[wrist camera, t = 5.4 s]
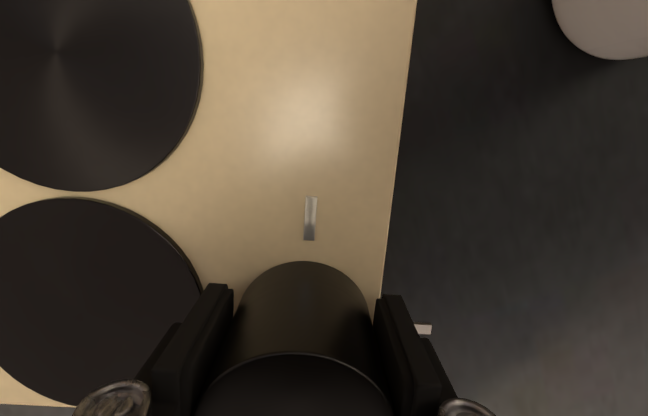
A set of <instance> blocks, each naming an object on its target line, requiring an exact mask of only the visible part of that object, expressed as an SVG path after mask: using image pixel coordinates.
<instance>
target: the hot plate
mask: <svg viewBox="0 0 648 416" xmlns="http://www.w3.org/2000/svg"><path fill="white" fill-rule="evenodd" d="M190 2H191V4H192V7H193V10H194V13H195V16H196V19H197V23H198V26H199V31H200V36H201V41H202V48H203V61H204V71H203V86H202V91H201V97H200V102H199V105H198V109H197V112H196V115H195V118H194V120H193V122H192V124H191V126H190V128H189V131H188V133H187V134H186V136H185V137H184V139H183V140H182V142H181V143H180V145H179V146H178V148H177V149H176V150H175V151H174V152H173V153H172V154H171V156H170V157H169V158H168V159H167V160H166V161H164V162H163V163H162V164H161V165H160V166H158V167H157V168H156V169H155V170H153V171H151V172H150V173H148V174H147V175H145V176H143V177H142V178H139V179H137V180H135V181H132V182H130V183H128V184H125V185H122V186H118V187H114V188H111V189H107V190H100V191H92V192H72V191H64V190H56V189H52V188H48V187H44V186H40V185H37V184H34V183H31V182H29V181H26V180H23V179H21V178H19V177H17V176H15V175H13V174H11V173H9V172H7V171H5V170H3V169H1V168H0V217H1V216H3V215H4V214H6V213H8V212H9V211H11V210H13V209H16V208H18V207H20V206H23V205H25V204H28V203H32V202H35V201H39V200H43V199H47V198H54V197H62V196H63V197H86V198H94V199H99V200H103V201H107V202H111V203H114V204H117V205H119V206H122V207H125V208H127V209H130V210H132V211H134V212H136V213H137V214H139V215H141V216H143V217H145V218H146V219H148V220H149V221H151V222H152V223H154V224H155V225H157V226H158V227H159V228H161V229H162V230H163V231H164V232H165V233H166V234H168V235H169V236H170V237H171V238H172V239H173V240H174V241H175V242H176V243H177V244H178V246H179V247H180V248H181V249H182V250H183V252H184V253H185V254H186V256H187V257H188V258H189V260H190V261H191V263H192V265H193V267H194V269H195V270H196V272H197V274H198V276H199V279H200V282H201V284H202V287H203V290H204V289H205V288H206V286H207V285H208V284H209V283H220V284H227V285H228V289H233V290H234V312H233V317H234V315H235V312H236V310H237V308H238V305H239V303H240V301H241V298H242V296H243V294H244V292H245V291H246V289H247V288H248V286H249V285H250V284H251V283H252V282H253V281H254V280H255V279H256V278H257V277H258V276H259V275H261V274H262V273H263V272H265V271H267V270H269V269H270V268H272V267H275V266H277V265H280V264H284V263H288V262H294V261H312V262H318V263H322V264H326V265H328V266H331V267H333V268H335V269H337V270H339V271H341V272H342V273H344V274H345V275H347V276H348V277H349V278H350V279H351V280H352V281H353V282H354V283H355V284H356V285H357V286H358V288H359V289H360V290H361V292H362V294H363V296H364V298H365V300H366V303H367V306H368V310H369V314H370V318H371V322H372V326H373V319H374V311H375V303H376V299H377V298H380V295H381V287H382V279H383V271H384V263H385V255H386V247H387V239H388V231H389V223H390V215H391V207H392V199H393V191H394V183H395V175H396V167H397V159H398V151H399V143H400V135H401V127H402V119H403V111H404V103H405V95H406V87H407V79H408V71H409V63H410V55H411V47H412V39H413V31H414V23H415V15H416V7H417V0H190ZM413 323H414V325H415V328H416V330H417V332H418V334H431V328H432V324H431V323H424V322H413ZM0 404H14V405H35V406H56V407H76V406H71V405H67V404H64V403H60V402H57V401H54V400H52V399H49V398H47V397H44V396H42V395H40V394H38V393H36V392H34V391H32V390H31V389H29V388H27V387H25V386H24V385H22V384H21V383H19V382H18V381H17V380H15V379H14V378H12V377H11V376H10V375H9V374H8V373H7V372H5V371H4V370H3V369H2V368H1V367H0Z"/></svg>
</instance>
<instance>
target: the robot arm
mask: <svg viewBox="0 0 648 416" xmlns="http://www.w3.org/2000/svg"><path fill="white" fill-rule="evenodd" d="M233 312H234V290H233V289H228V285H227V284H220V283H209V284H208V285H207V286H206V288H205V289H204V291H203V293H202V294H201V296H200V297H199V299H198V300H197V302H196V303H195V305H194V306H193V308H192V309H191V311H190V312H189V314H188V315H187V317H186V318H185V320H184V321H183V323H178V322H176V323H174V324H173V325H172V326H171V327H170V328H169V330H168V331H167V333H166V334H165V335H164V337H163V338H162V340H161V341H160V342H159V344H158V345H157V347H156V348H155V350H154V351H153V352H152V354H151V355H150V357H149V358H148V359H147V361H146V362H145V364H144V365H143V366H142V368H141V369H140V371H139V372H138V374H137V375H136V376H135V378H134V379H123V380H118V381H113V382H110V383H108V384H105V385H102V386H100V387H99V388H97V389H95V390H93V391H92V392H90V393H89V394H88V395H87V396H86V397H84V398H83V399H82V400H81V402H80V403H79V404H78V406H77V407H76V409H75V411H74V413H73V415H72V416H192V413H193V411H194V408H195V406H196V403H197V401H198V398H199V396H200V394H201V391H202V389H203V387H204V384H205V382H206V380H207V377H208V375H209V373H210V371H211V368H212V366H213V364H214V361H215V359H216V357H217V354H218V352H219V350H220V347H221V345H222V343H223V340H224V338H225V336H226V333H227V331H228V329H229V326H230V324H231V322H232V319H233ZM373 330H374V334H375V338H376V342H377V345H378V349H379V353H380V357H381V361H382V365H383V369H384V373H385V377H386V381H387V385H388V389H389V393H390V397H391V401H392V405H393V409H394V413H395V416H496V415H495V414H494V413H492V412H491V411H490V410H489V409H487V408H486V407H484V406H483V405H481V404H479V403H477V402H475V401H471V400H468V399H464V398H458V397H457V395H456V393H455V391H454V389H453V387H452V385H451V383H450V381H449V379H448V377H447V375H446V373H445V371H444V369H443V367H442V365H441V362H440V360H439V358H438V356H437V354H436V352H435V350H434V348H433V346H432V344H431V342H430V341H429V339H427V338H420V336H419V334H418V332H417V330H416V328H415V325H414V323H413V321H412V319H411V317H410V314H409V312H408V310H407V308H406V306H405V303H404V301H403V299H402V297H401V295H387V294H383V296H382V299H380V298H377V299H376V303H375V311H374V319H373Z"/></svg>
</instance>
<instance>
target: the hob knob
mask: <svg viewBox="0 0 648 416" xmlns="http://www.w3.org/2000/svg"><path fill="white" fill-rule="evenodd" d="M192 416H395V413H394V409H393V405H392V401H391V397H390V393H389V389H388V385H387V381H386V377H385V373H384V369H383V365H382V361H381V357H380V353H379V349H378V345H377V342H376V338H375V334H374V330H373V326H372V322H371V318H370V314H369V310H368V306H367V303H366V300H365V298H364V296H363V294H362V292H361V290H360V289H359V288H358V286H357V285H356V284H355V283H354V282H353V281H352V280H351V279H350V278H349V277H348V276H347V275H345V274H344V273H342V272H341V271H339V270H337V269H335V268H333V267H331V266H328V265H326V264H322V263H318V262H312V261H294V262H288V263H284V264H280V265H277V266H275V267H272V268H270V269H269V270H267V271H265V272H263V273H262V274H261V275H259V276H258V277H257V278H256V279H255V280H254V281H253V282H252V283H251V284H250V285H249V286H248V288H247V289H246V291H245V292H244V294H243V296H242V298H241V301H240V303H239V305H238V308H237V310H236V312H235V315H234V317H233V319H232V322H231V324H230V326H229V329H228V331H227V333H226V336H225V338H224V340H223V343H222V345H221V347H220V350H219V352H218V354H217V357H216V359H215V361H214V364H213V366H212V368H211V371H210V373H209V375H208V377H207V380H206V382H205V384H204V387H203V389H202V391H201V394H200V396H199V398H198V401H197V403H196V406H195V408H194V411H193V413H192Z"/></svg>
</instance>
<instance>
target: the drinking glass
mask: <svg viewBox="0 0 648 416" xmlns="http://www.w3.org/2000/svg"><path fill="white" fill-rule="evenodd" d="M551 1H552V6H553V11H554V14H555V17H556V20H557V23H558V24H559V26H560V28H561V30H562V31H563V33H564V34H565V36H566V37H567V38H568V39H569V40H570V41H571V42H572V43H573V44H574V45H575V46H576V47H578V48H579V49H580V50H582V51H584V52H586V53H588V54H590V55H592V56H595V57H599V58H603V59H609V60H629V59H636V58H642V57H648V0H551Z"/></svg>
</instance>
